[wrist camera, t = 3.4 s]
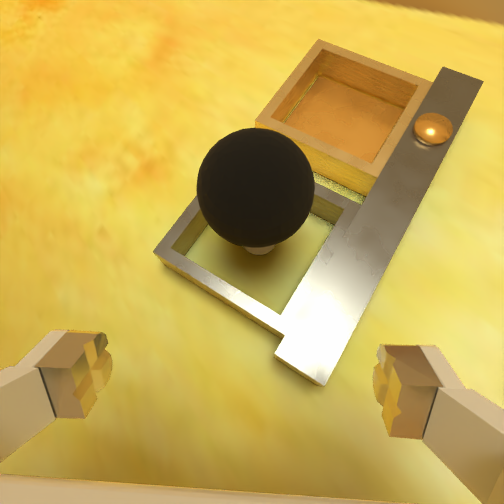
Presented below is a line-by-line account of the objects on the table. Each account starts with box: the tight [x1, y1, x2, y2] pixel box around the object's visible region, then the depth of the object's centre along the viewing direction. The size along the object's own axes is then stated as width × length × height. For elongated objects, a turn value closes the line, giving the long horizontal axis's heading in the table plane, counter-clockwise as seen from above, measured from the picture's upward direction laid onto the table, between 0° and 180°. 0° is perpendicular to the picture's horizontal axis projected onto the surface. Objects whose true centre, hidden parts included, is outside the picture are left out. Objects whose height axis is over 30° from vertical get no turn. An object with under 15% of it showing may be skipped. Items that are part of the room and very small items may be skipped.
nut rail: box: [153, 39, 484, 386], centre depth 23 cm, size 13×24×3 cm, turn 147°
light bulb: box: [197, 128, 315, 255], centre depth 19 cm, size 6×6×10 cm
